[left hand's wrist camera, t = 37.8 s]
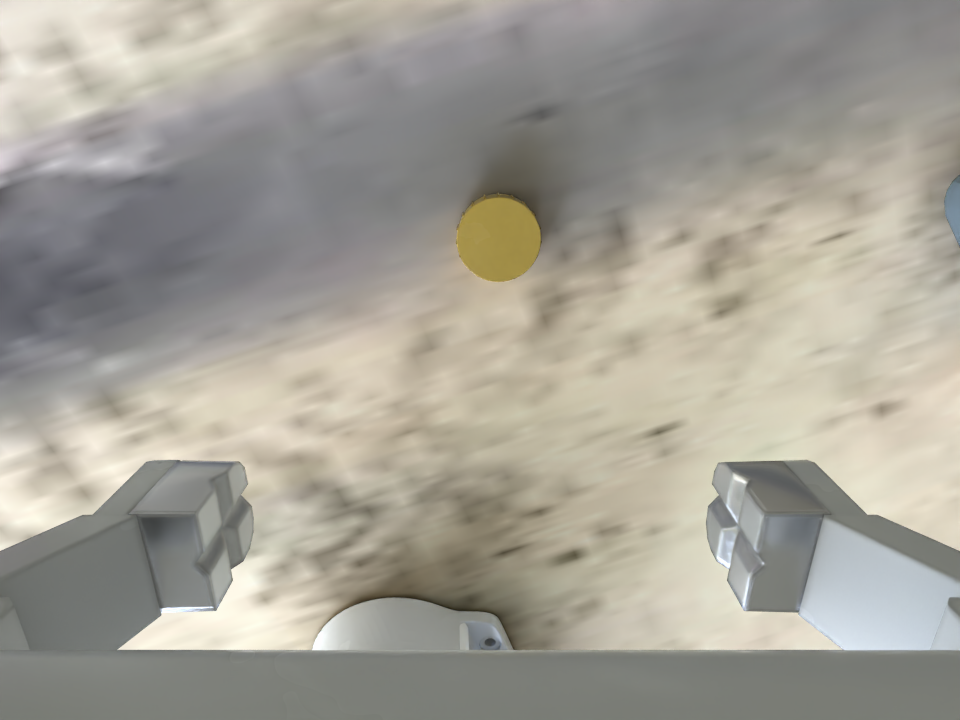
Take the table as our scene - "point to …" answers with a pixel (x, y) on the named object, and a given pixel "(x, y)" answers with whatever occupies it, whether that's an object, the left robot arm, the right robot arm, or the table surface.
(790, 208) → the table surface
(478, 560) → the table surface
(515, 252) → the lid
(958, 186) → the alarm clock
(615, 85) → the table surface
